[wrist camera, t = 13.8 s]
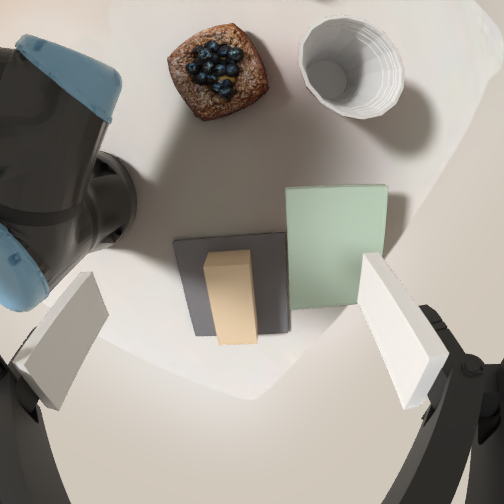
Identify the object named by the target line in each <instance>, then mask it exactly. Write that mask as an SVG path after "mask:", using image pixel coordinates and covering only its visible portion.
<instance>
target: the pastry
mask: <svg viewBox="0 0 504 504" xmlns="http://www.w3.org/2000/svg"><path fill="white" fill-rule="evenodd" d="M167 61H168V66H169V71H170V75H171V77H172V80H173V82H174V85H175V87H176V88H177V90H178V92H179V93H180V95H181V96H182V98H183V99H184V101H185V102H186V104H187V105H188V106H189V108H190V109H191V110H192V111H193V112H194V115H195V117H199V118H200V119H201V120H202V121H208V120H213V119H216V118H221V117H225V116H227V115H230V114H233V113H235V112H237V111H239V110H241V109H244V108H246V107H248V106H250V105H252V104H253V103H254V102H256V101H257V100H258V99H259V98H260V97H261V96H262V95H263V94H265V93H266V92H267V91H268V90H269V87H268V84H267V75H266V72H265V68H264V65H263V62H262V60H261V58H260V56H259V54H258V52H257V51H256V49H255V47H254V45H253V43H252V42H251V41H250V39H249V38H248V37H247V35H246V34H245V33H244V32H243V31H242V30H241V29H240V28H239V27H237V26H236V25H235V24H234V23H230V24H225V25H219V26H215V27H212V28H209V29H206V30H203V31H201V32H199V33H197V34H195V35H194V36H192V37H191V38H190V39H188V40H186V41H185V42H184V43H183V44H181V45H180V46H179V47H178V48H177V49H176V50H174V51H173V52H172V53H171V55H170V56H169V57H168V59H167Z"/></svg>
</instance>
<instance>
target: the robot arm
mask: <svg viewBox="0 0 504 504" xmlns="http://www.w3.org/2000/svg"><path fill="white" fill-rule="evenodd" d="M15 47H16V49H9V48H1V47H0V304H1V305H2V306H4V307H5V308H7V309H10V310H12V311H15V312H27V311H30V310H32V309H33V308H34V307H35V306H37V305H38V304H39V303H40V302H41V301H43V300H44V299H46V298H47V297H48V295H49V293H50V292H51V291H52V290H53V289H54V287H55V286H56V285H57V284H58V283H59V282H60V281H61V280H62V279H63V278H64V277H65V276H66V275H67V274H68V273H69V272H70V271H71V270H72V269H73V268H74V267H75V266H76V265H77V264H78V263H79V262H80V261H81V260H82V259H83V258H84V257H85V256H86V255H87V254H88V253H91V252H95V251H98V250H102V249H105V248H108V247H110V246H112V245H114V244H115V243H117V242H118V241H119V240H120V239H121V238H122V237H123V236H124V235H125V234H126V233H127V232H128V230H129V229H130V227H131V225H132V223H133V221H134V218H135V214H136V204H137V202H136V192H135V188H134V185H133V182H132V179H131V177H130V175H129V174H128V172H127V170H126V169H125V168H124V166H123V165H122V164H121V163H120V162H119V161H118V160H117V159H115V158H114V157H113V156H111V155H109V154H107V153H105V152H101V151H99V149H100V147H101V144H102V141H103V138H104V136H105V133H106V131H107V128H108V125H109V124H111V122H112V114H113V110H114V108H115V105H116V102H117V100H118V97H119V94H120V92H121V89H122V79H121V76H120V74H119V73H118V72H117V71H116V70H115V69H114V68H112V67H110V66H108V65H106V64H104V63H102V62H100V61H97V60H95V59H93V58H91V57H88V56H86V55H84V54H81V53H79V52H77V51H74V50H72V49H69V48H66V47H64V46H61V45H58V44H56V43H53V42H49V41H47V40H44V39H41V38H38V37H35V36H32V35H28V34H25V35H23V36H22V37H21V38H20V40H18V41H17V42H16V45H15ZM357 303H358V305H359V307H360V309H361V311H362V313H363V315H364V317H365V320H366V322H367V324H368V326H369V328H370V331H371V333H372V335H373V337H374V339H375V342H376V344H377V346H378V349H379V351H380V353H381V355H382V358H383V360H384V362H385V365H386V367H387V370H388V372H389V374H390V377H391V379H392V382H393V384H394V386H395V389H396V392H397V394H398V396H399V399H400V401H401V404H402V407H403V409H404V410H406V409H410V408H414V407H417V406H420V405H422V404H423V402H424V400H425V399H426V397H427V396H428V398H429V400H430V402H431V404H430V406H429V408H428V409H427V411H426V412H425V414H424V415H423V417H422V419H423V423H422V425H421V428H420V430H419V432H418V435H417V437H416V439H415V441H414V444H413V446H412V448H411V450H410V452H409V454H408V456H407V458H406V460H405V462H404V464H403V466H402V468H401V470H400V472H399V474H398V476H397V478H396V479H395V481H394V483H393V485H392V487H391V488H390V490H389V492H388V494H387V495H386V497H385V499H384V500H383V502H382V503H381V504H451V502H452V499H453V497H454V495H455V492H456V489H457V487H458V485H459V482H460V479H461V477H462V474H463V471H464V468H465V465H466V462H467V459H468V456H469V453H470V449H471V461H470V473H469V480H468V488H467V494H466V500H465V504H504V359H503V360H502V362H501V364H484V362H483V361H482V360H481V359H480V358H479V357H477V356H475V355H472V354H465V352H464V351H463V349H462V348H461V346H460V345H459V343H458V342H457V340H456V339H455V337H454V336H453V334H452V333H451V332H450V330H449V329H447V326H446V324H445V323H444V322H443V321H442V319H441V317H440V316H439V315H438V313H437V312H436V311H435V310H434V309H432V308H431V307H429V306H428V305H421V306H418V305H417V304H416V302H415V301H414V299H413V298H412V296H411V295H410V294H409V292H408V291H407V289H406V288H405V287H404V285H403V284H402V283H401V281H400V280H399V279H398V277H397V276H396V275H395V273H394V272H393V271H392V269H391V268H390V267H389V265H388V264H387V263H386V262H385V260H384V259H383V258H382V256H381V255H380V254H379V253H378V252H372V253H363V260H362V269H361V277H360V285H359V292H358V299H357ZM108 316H109V314H108V311H107V309H106V307H105V304H104V302H103V299H102V296H101V294H100V291H99V289H98V286H97V283H96V281H95V278H94V275H93V272H81V273H80V274H79V275H78V276H77V277H76V279H75V280H74V281H73V282H72V283H71V284H70V286H69V287H68V288H67V289H66V290H65V292H64V293H63V294H62V295H61V296H60V298H59V299H58V300H57V301H56V303H55V304H54V305H53V306H52V308H51V309H50V310H49V311H48V313H47V314H46V315H45V317H44V318H43V319H42V321H41V322H40V323H39V325H38V326H36V327H35V328H34V329H33V330H32V331H31V333H30V334H29V335H28V337H27V339H25V341H24V342H23V345H21V347H20V348H19V349H18V351H17V352H16V353H15V355H14V357H13V358H12V359H11V361H10V362H9V364H8V365H7V364H6V363H5V361H4V360H3V358H2V357H1V355H0V504H71V503H70V500H69V498H68V496H67V493H66V491H65V488H64V486H63V483H62V481H61V478H60V475H59V472H58V469H57V467H56V464H55V460H54V457H53V454H52V451H51V448H50V444H49V441H48V437H47V434H46V430H45V426H44V422H43V417H42V413H41V409H40V407H39V406H38V405H37V402H38V400H39V399H40V400H41V401H42V402H43V404H44V405H45V406H46V407H47V408H51V409H54V410H57V411H59V410H60V408H61V406H62V403H63V401H64V399H65V397H66V395H67V393H68V391H69V388H70V387H71V385H72V382H73V381H74V379H75V377H76V375H77V373H78V371H79V369H80V366H81V365H82V363H83V361H84V359H85V357H86V355H87V353H88V351H89V350H90V348H91V346H92V344H93V342H94V340H95V339H96V337H97V335H98V333H99V332H100V330H101V328H102V326H103V324H104V323H105V321H106V319H107V317H108ZM471 446H472V447H471Z"/></svg>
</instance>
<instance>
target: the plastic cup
mask: <svg viewBox="0 0 504 504" xmlns="http://www.w3.org/2000/svg"><path fill="white" fill-rule="evenodd" d="M298 65H299V68H300V70H301V73H302V76H303V78H304V81H305V84H306V86H307V88H308V89H309V91H310V92H311V93H312V94H313V95H314V96H315V97H316V98H317V99H318V100H319V101H320V103H321V104H323V105H325V106H326V107H328V108H330V109H332V110H333V111H335V112H337V113H338V114H340V115H341V116H347V117H352V118H357V119H362V120H363V119H367V118H372V117H377V116H381V115H383V114H384V113H385V112H387V111H388V110H389V109H390V108H392V107H393V106H394V105H396V103H397V101H398V99H399V97H400V95H401V93H402V91H403V89H404V66H403V63H402V60H401V57H400V55H399V52H398V49H397V48H396V47H395V45H394V44H393V43H392V41H391V40H390V39H389V38H388V36H387V35H386V34H385V33H384V32H383V31H381V30H380V29H378V28H377V27H376V26H374V25H373V24H371V23H370V22H368V21H366V20H363V19H359V18H356V17H352V16H348V15H340V16H331V17H325V18H323V19H322V20H320V21H318V22H317V23H315V24H313V25H312V26H310V27H309V28H308V30H307V32H306V33H305V35H304V37H303V38H302V40H301V42H300V44H299V61H298Z"/></svg>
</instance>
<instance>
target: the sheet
mask: <svg viewBox="0 0 504 504" xmlns="http://www.w3.org/2000/svg"><path fill="white" fill-rule="evenodd" d="M387 197H388V186H386V185H385V184H352V185H320V186H298V187H285V199H286V219H287V242H288V270H289V305H290V310H297V309H309V308H321V307H332V306H343V305H352V304H358V303H357V299H358V292H359V285H360V277H361V269H362V260H363V253H372V252H378V253H379V254H380V255H381V256H382V255H383V246H384V236H385V226H386V213H387Z"/></svg>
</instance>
